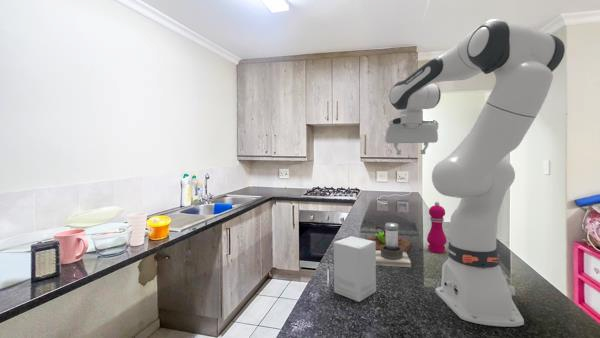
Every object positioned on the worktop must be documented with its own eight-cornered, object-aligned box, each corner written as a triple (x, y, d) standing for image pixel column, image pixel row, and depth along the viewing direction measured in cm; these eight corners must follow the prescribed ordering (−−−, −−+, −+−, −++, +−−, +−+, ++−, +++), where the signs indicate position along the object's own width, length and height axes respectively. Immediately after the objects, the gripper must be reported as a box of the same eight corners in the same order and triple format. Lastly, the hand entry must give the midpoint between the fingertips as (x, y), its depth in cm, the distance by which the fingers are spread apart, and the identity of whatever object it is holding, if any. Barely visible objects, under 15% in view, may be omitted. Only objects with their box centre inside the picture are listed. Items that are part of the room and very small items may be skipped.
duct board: (411, 267, 106) (411, 254, 106) (375, 265, 108) (375, 252, 108) (405, 255, 118) (406, 244, 117) (374, 254, 120) (374, 242, 120)
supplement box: (377, 292, 88) (377, 241, 87) (359, 303, 82) (359, 248, 81) (351, 282, 94) (351, 235, 94) (333, 292, 88) (332, 241, 87)
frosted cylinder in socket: (397, 254, 115) (397, 222, 114) (398, 258, 110) (398, 225, 109) (384, 253, 115) (384, 222, 115) (385, 257, 111) (385, 225, 110)
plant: (359, 252, 123) (358, 225, 122) (366, 239, 141) (366, 215, 141) (411, 258, 116) (411, 229, 115) (411, 243, 134) (411, 218, 134)
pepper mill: (448, 254, 119) (449, 203, 118) (429, 253, 120) (429, 203, 119) (443, 248, 126) (444, 200, 125) (425, 247, 127) (425, 200, 126)
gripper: (436, 120, 124) (436, 154, 125) (384, 121, 128) (384, 154, 129) (440, 118, 118) (440, 154, 119) (385, 120, 122) (385, 154, 123)
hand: (410, 154), depth 124 cm, fingers open, 8 cm apart
